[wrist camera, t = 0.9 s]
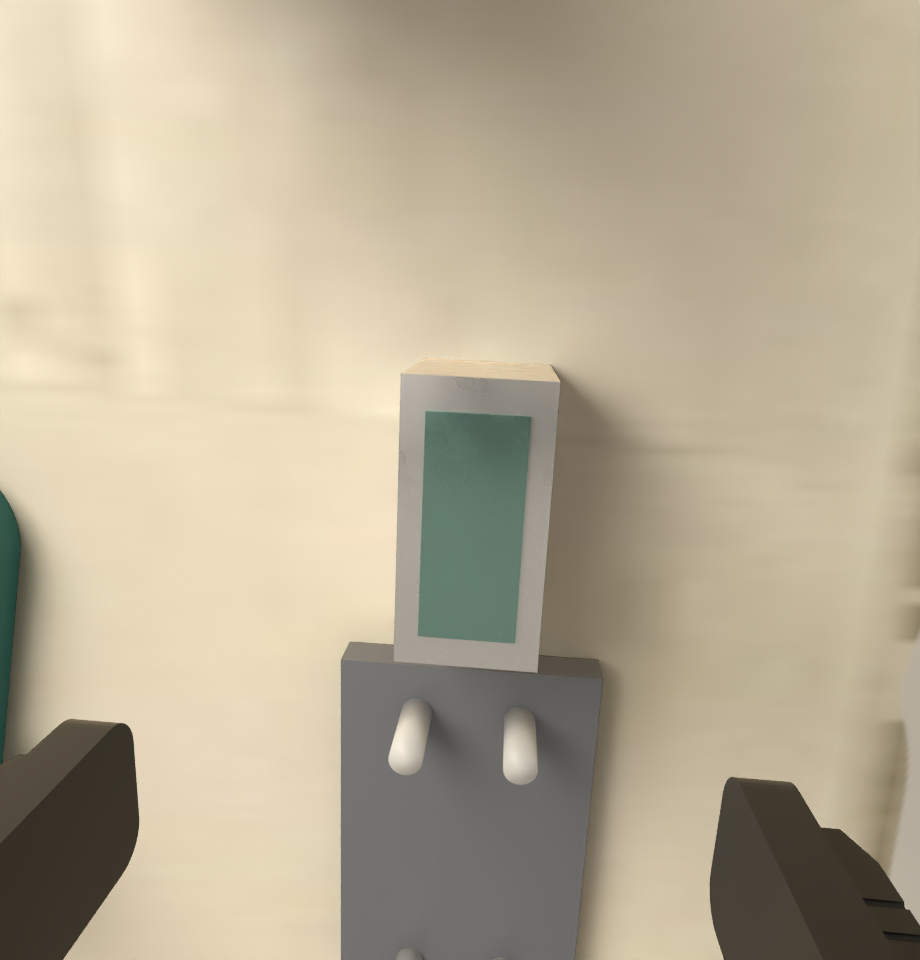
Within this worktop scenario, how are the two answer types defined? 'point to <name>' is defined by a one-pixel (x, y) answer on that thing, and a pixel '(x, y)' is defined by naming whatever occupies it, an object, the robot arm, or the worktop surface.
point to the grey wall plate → (464, 807)
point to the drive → (474, 512)
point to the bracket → (7, 602)
